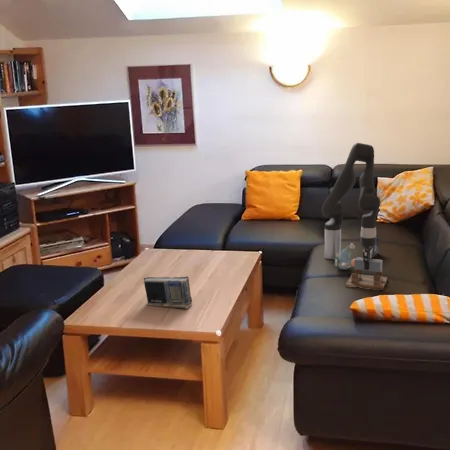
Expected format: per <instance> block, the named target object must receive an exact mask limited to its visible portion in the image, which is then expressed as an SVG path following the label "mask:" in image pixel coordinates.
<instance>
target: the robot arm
mask: <svg viewBox="0 0 450 450" xmlns="http://www.w3.org/2000/svg"><path fill="white" fill-rule="evenodd" d="M356 162H361V163H365V168H364V170H362V173H361V174H360V177H359V180H358V181H359V192H360V193H359V197H358V201H357V202H358V203H357V206H358V208H359V210H361V211H370V212H369V213H365V214H363V215H362V216H361V223H360V224H361V225H360V227H361V228H360V239H359V240H360V241H359V242H360V245H361V246H362V247H363V246H365V247H364V249H363V248H362V258H363V262H364V269H365V270H364V271H366V270H369V259H371V258H372V250H373V246H374V245H376V237H377V217H378V212H379V210H380V208H381V198H380V197H379V196H378V195H373V194H375V191H376V188H375V181H374V171H375V170H374V166H375V149H374V146H373V145H371V144H367V143H363V142H355V143H354V144H353V145H352V147H351V149H350V151H349V154H348V157H347V158H346V161H345V163H344V166H343V168H342V170H341V172H340V174H339V175H338V178H337V179H336V182H335V183H334V185H333V187H332V190H331V191H330V193H329V194H328V196H327V198H326V199H325V201H324V202H323V204H322V207H321V214H322V216H323V217H324V218H328V219H329V220H327V221H326V222H325V223H324V255H323V257H324V258H325V259H327V260H335V257H336V254H337V253H338V259H339V255H340V253H341V251H342V250H341V249H342V226H343V218H344V206H343V204H342V202H341V200H342V199H344V197H346V196H347V195H348V194H349V193H350V192H351V190H352V189H353V187H354V186H355V184H356V182H357V181H356V180H357V178H356V176H357V175H356V173H355V169H354V167H355V166H354V165H355V163H356ZM365 259H367V260H365ZM372 259H373V258H372Z"/></svg>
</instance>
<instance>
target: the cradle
mask: <svg viewBox="0 0 450 450" xmlns="http://www.w3.org/2000/svg"><path fill="white" fill-rule="evenodd" d="M361 272H362V270H358V269H354V271H353V272H351V275H350V277H349V278H348V280H347V282H346V283H345V287H346V286H355V287H362V288H370V289H376V290H375V291H379V290H383V291H384V289H385V287H384V286H386V284H387V282H388V277H386V276H383V274H384V271H383V270H381V272H375V274H373V275H368V274H367V275H366V274H362V273H361ZM383 288H384V289H383Z"/></svg>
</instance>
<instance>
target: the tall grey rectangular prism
mask: <svg viewBox="0 0 450 450" xmlns="http://www.w3.org/2000/svg"><path fill="white" fill-rule="evenodd" d="M351 260H352V261H350V264H351V267H353V268H354V269H358V270H361V271H368V272H375V273H376V272H381V271H383V262H384V261H383V259H377V258H376V259H375V258H372V259H369V270H365V269H364V262H363V257H360V256H357V257H356V258H353V259H351ZM365 260H367V259H365Z"/></svg>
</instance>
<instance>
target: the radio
mask: <svg viewBox="0 0 450 450" xmlns="http://www.w3.org/2000/svg"><path fill="white" fill-rule="evenodd" d="M143 280H144V281H143V284H144V289H145V293H146V300H147V303H145V304H144V306H149V307H150V306H151V307H159V308H160V307H161V308H170V309H181V310H187V309H189V308H190V307H191V306H192V305H193V300H192V296H191V295H192V294H191V288H190V279H189V276H188V275H187V276H174V277H170V276H147V277H143Z"/></svg>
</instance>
